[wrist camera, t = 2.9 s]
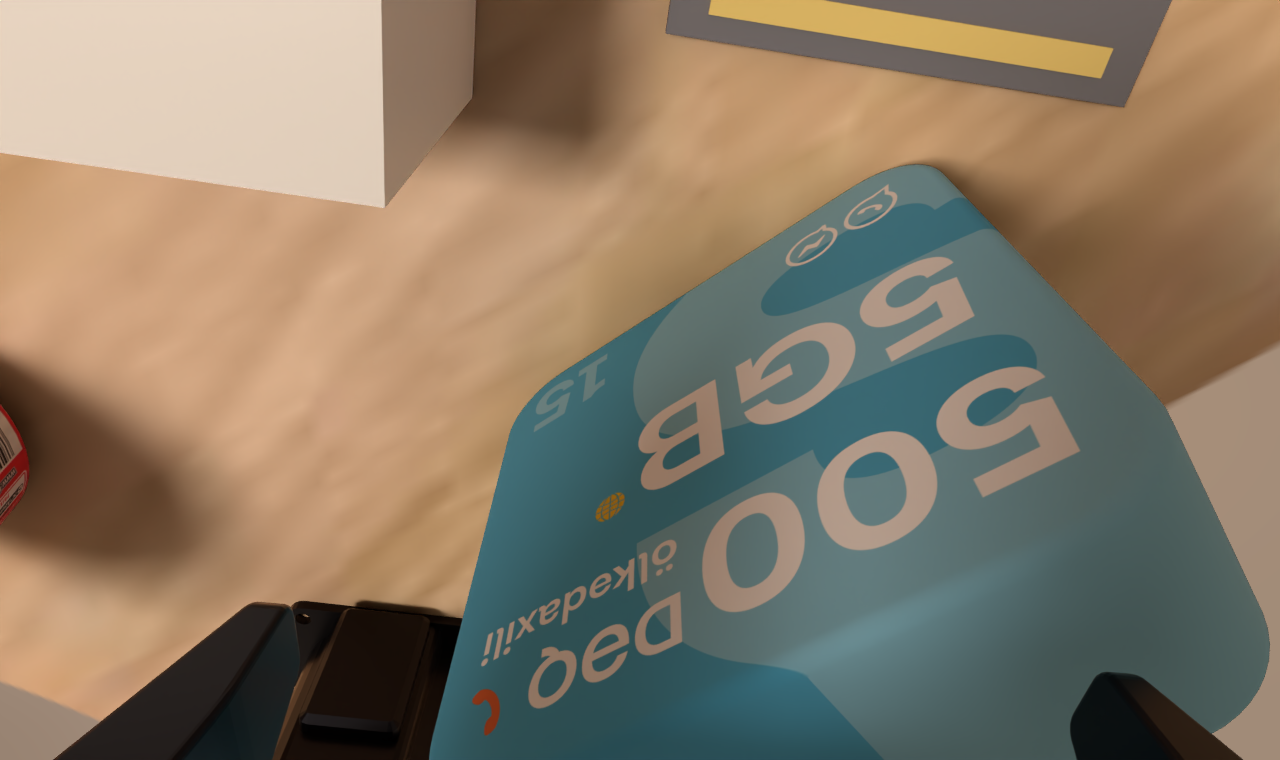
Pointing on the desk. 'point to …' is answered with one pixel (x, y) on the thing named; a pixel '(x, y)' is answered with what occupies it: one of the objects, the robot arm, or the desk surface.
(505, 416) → the desk surface
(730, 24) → the mat
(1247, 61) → the desk surface
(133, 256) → the desk surface
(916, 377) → the data package
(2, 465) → the soda can
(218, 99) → the white box
